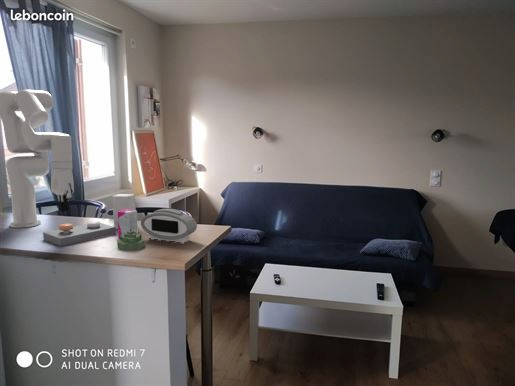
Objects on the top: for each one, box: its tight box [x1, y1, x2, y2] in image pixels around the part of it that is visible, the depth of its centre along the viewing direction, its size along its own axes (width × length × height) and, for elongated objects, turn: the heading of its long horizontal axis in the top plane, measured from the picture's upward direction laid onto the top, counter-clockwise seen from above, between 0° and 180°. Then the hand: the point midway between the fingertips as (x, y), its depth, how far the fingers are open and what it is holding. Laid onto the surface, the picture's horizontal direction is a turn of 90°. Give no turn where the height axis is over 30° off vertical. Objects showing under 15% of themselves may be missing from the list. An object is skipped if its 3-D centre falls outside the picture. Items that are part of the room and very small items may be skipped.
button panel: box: [42, 222, 117, 247], centre depth 172 cm, size 14×24×3 cm, turn 142°
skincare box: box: [111, 193, 136, 231], centre depth 185 cm, size 8×7×16 cm
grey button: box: [86, 220, 101, 229], centre depth 177 cm, size 5×5×5 cm
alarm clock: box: [140, 208, 198, 244], centre depth 169 cm, size 23×6×13 cm, turn 68°
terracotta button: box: [58, 223, 74, 234], centre depth 167 cm, size 5×5×5 cm
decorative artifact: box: [116, 229, 145, 251], centre depth 159 cm, size 10×7×10 cm
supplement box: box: [117, 210, 139, 240], centre depth 171 cm, size 6×6×12 cm
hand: (64, 210), depth 166 cm, fingers closed
